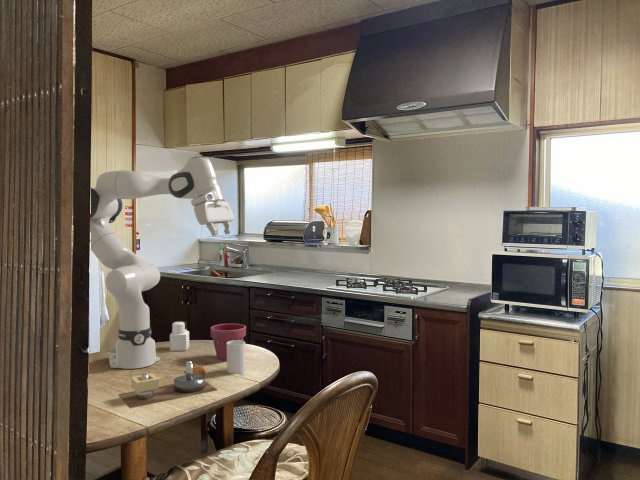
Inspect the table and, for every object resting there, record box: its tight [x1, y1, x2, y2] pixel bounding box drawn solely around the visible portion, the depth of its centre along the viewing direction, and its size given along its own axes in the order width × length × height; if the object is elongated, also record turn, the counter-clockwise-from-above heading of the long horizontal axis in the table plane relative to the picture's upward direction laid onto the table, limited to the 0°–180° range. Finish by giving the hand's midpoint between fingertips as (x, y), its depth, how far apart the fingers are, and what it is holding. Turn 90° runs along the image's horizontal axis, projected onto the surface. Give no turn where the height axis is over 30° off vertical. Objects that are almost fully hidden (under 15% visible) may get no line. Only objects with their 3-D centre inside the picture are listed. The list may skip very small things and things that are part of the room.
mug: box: [226, 340, 246, 377], centre depth 192 cm, size 10×7×12 cm, turn 170°
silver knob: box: [136, 373, 154, 400], centre depth 163 cm, size 5×5×7 cm
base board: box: [117, 380, 218, 409], centre depth 168 cm, size 14×28×2 cm, turn 125°
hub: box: [173, 360, 206, 393], centre depth 171 cm, size 10×10×9 cm
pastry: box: [193, 364, 206, 377], centre depth 187 cm, size 9×7×4 cm
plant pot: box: [210, 323, 247, 361], centre depth 212 cm, size 14×14×13 cm
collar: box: [130, 373, 160, 393], centre depth 163 cm, size 7×7×3 cm
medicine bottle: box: [169, 320, 190, 352], centre depth 225 cm, size 7×7×12 cm
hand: (221, 234), depth 189 cm, fingers open, 8 cm apart
